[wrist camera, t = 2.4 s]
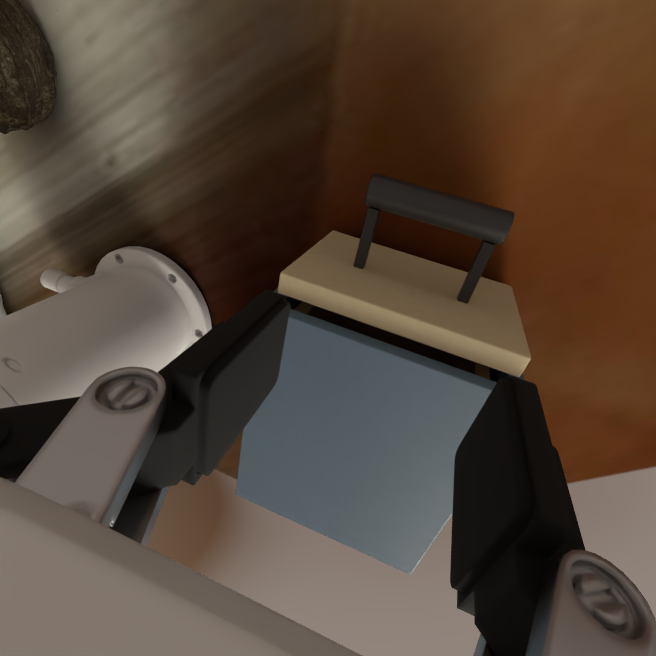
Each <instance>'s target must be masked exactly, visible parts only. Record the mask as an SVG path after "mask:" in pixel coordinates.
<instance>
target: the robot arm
mask: <svg viewBox="0 0 656 656" xmlns="http://www.w3.org/2000/svg"><path fill="white" fill-rule="evenodd" d="M40 281H41V284H42V285H43V286H44V287H46V288H49V289H51V290H54V291H56V292H59V294H57V295H55V296H52V297H50V298H48V299H45V300H43V301H40V302H38V303H36V304H33V305H31V306H28V307H26V308H24V309H21V310H19V311H17V312H14V313H12V314H9V315H7V316H5V317H2V318H0V656H362V655H360V654H357V653H356V652H354V651H352V650H350V649H348V648H346V647H344V646H342V645H340V644H338V643H336V642H334V641H332V640H330V639H328V638H326V637H324V636H322V635H321V634H319V633H317V632H315V631H312V630H311V629H309V628H307V627H305V626H303V625H300V624H299V623H297V622H295V621H293V620H291V619H289V618H287V617H285V616H283V615H281V614H279V613H277V612H275V611H273V610H271V609H269V608H267V607H265V606H263V605H261V604H259V603H257V602H255V601H253V600H251V599H250V598H248V597H245V596H244V595H242V594H240V593H238V592H236V591H234V590H232V589H230V588H228V587H226V586H224V585H222V584H220V583H218V582H216V581H214V580H212V579H210V578H208V577H206V576H204V575H202V574H200V573H198V572H196V571H194V570H192V569H190V568H188V567H186V566H184V565H182V564H180V563H178V562H176V561H174V560H172V559H170V558H168V557H166V556H164V555H162V554H160V553H158V552H156V551H154V550H152V549H150V548H148V547H147V544H148V541H149V539H150V536H151V533H152V531H153V528H154V525H155V523H156V520H157V517H158V515H159V512H160V509H161V506H162V504H163V501H164V498H165V496H166V493H167V490H168V488H169V486H173V485H176V484H178V483H179V482H180V480H183V481H185V482H187V483H189V484H191V485H195V484H196V482H197V481H198V480H199V478H200V477H201V476H202V474H204V475H206V476H208V475H210V474H211V472H212V471H213V470H214V469H215V467H216V466H217V465H218V463H219V462H220V460H221V459H222V458H223V456H224V455H225V454H226V452H227V451H228V450H229V448H230V447H231V445H232V444H233V443H234V441H235V440H236V439H237V437H238V436H239V434H240V433H241V432H242V430H243V429H244V428H245V426H246V425H247V423H248V422H249V421H250V419H251V418H252V417H253V415H254V414H255V412H256V411H257V410H258V408H259V407H260V406H261V404H262V403H263V401H264V400H265V399H266V397H267V396H268V395H269V393H270V392H271V390H272V389H273V388H274V386H275V384H276V382H277V379H278V376H279V370H280V364H281V359H282V353H283V347H284V341H285V336H286V330H287V324H288V319H289V313H290V303H288V302H286V297H285V296H284V295H281V294H278V293H275V292H272V291H270V290H264V291H263V292H261V293H260V294H259V295H258V296H257V297H255V298H254V299H253V300H252V301H251V302H249V303H248V304H247V305H246V306H244V307H243V308H242V309H241V310H240V311H238V312H237V313H236V314H235V315H234V316H232V317H231V318H230V319H229V320H228V321H226V322H221V323H219V324H217V325H216V326H215V327H213V328H212V326H211V317H210V314H209V310H208V307H207V304H206V302H205V300H204V298H203V296H202V294H201V292H200V291H199V289H198V287H197V286H196V284H195V283H194V281H193V280H192V279H191V278H190V277H189V276H188V274H187V273H186V272H185V271H184V270H183V269H182V268H181V267H179V266H178V265H177V264H176V263H175V262H174V261H172V260H171V259H169V258H168V257H166V256H165V255H163V254H161V253H159V252H156V251H154V250H152V249H148V248H144V247H140V246H128V247H123V248H120V249H117V250H115V251H112V252H110V253H108V254H107V255H106V256H104V257H103V258H102V259H101V261H100V262H99V264H98V265H97V268H96V271H95V274H94V275H92V276H90V277H87V278H86V277H83V276H78V277H75V278H74V277H72V276H71V275H70V274H67V273H64V272H62V271H59V270H57V269H52V268H50V269H47V270H45V271H44V272H43V273H42V275H41V278H40ZM162 368H163V369H162ZM159 370H160V371H159ZM158 371H159V372H158ZM157 372H158V373H157ZM452 517H453V518H452V520H453V521H452V545H451V546H452V547H451V574H450V576H451V577H450V583H451V587H452V588H454V589H456V590H458V591H457V597H458V598H457V608H458V609H461V610H463V611H465V612H467V613H469V614H471V615H473V616H475V625H476V626H477V628H478V629H479V631H480V632H481V634H480V637H479V640H478V644H477V646H476V649H475V653H474V656H656V621H655V617H654V615H653V613H652V611H651V609H650V607H649V605H648V603H647V601H646V599H645V598H644V597H643V595H642V594H641V592H640V591H639V590H638V588H637V587H636V586H635V584H634V583H633V582H631V580H630V579H629V578H628V577H627V576H626V575H625V574H624V573H623V572H622V571H621V570H619V569H618V568H617V567H616V566H614V565H613V564H612V563H611V562H609V561H608V560H606V559H604V558H602V557H601V556H599V555H597V554H595V553H592V552H588V551H585V547H584V544H583V540H582V536H581V533H580V529H579V526H578V522H577V519H576V515H575V511H574V508H573V504H572V500H571V497H570V493H569V490H568V486H567V483H566V479H565V475H564V472H563V468H562V465H561V461H560V457H559V454H558V452H557V450H556V448H555V447H553V446H552V443H551V439H550V435H549V431H548V428H547V424H546V420H545V416H544V413H543V409H542V405H541V401H540V398H539V394H538V390H537V387H536V385H535V384H533V383H531V382H528V381H525V380H522V379H519V378H516V377H514V376H510V377H509V378H508V379H507V380H505V379H502V378H501V379H499V380H498V382H497V383H496V385H495V387H494V388H493V390H492V392H491V393H490V395H489V397H488V398H487V400H486V402H485V403H484V405H483V407H482V408H481V410H480V411H479V413H478V415H477V416H476V418H475V420H474V421H473V423H472V425H471V426H470V428H469V430H468V431H467V433H466V435H465V436H464V438H463V440H462V441H461V443H460V445H459V446H458V448H457V451H456V454H455V460H454V487H453V516H452Z"/></svg>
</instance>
